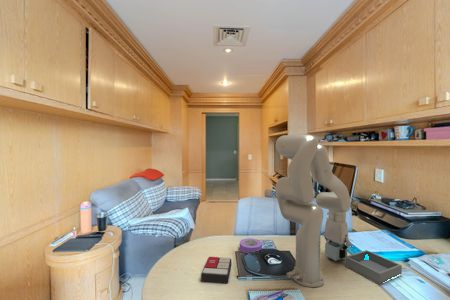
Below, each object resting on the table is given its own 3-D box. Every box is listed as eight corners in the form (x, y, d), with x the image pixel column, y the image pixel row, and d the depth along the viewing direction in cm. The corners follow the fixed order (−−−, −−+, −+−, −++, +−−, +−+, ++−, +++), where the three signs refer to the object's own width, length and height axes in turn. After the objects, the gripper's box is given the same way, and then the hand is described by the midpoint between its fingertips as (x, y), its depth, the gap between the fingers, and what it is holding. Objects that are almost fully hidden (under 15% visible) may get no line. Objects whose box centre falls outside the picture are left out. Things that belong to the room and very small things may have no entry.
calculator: (231, 256, 105) (228, 273, 90) (231, 266, 105) (227, 284, 90) (208, 255, 106) (201, 271, 91) (208, 264, 106) (201, 282, 91)
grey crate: (379, 285, 89) (379, 273, 89) (345, 266, 103) (345, 256, 102) (401, 275, 95) (401, 265, 95) (366, 259, 109) (366, 250, 109)
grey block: (335, 260, 105) (335, 247, 104) (324, 255, 110) (325, 242, 110) (347, 257, 108) (347, 245, 108) (336, 252, 113) (336, 240, 113)
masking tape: (248, 242, 127) (248, 236, 127) (266, 249, 119) (266, 242, 119) (235, 249, 119) (235, 242, 119) (252, 257, 111) (252, 250, 111)
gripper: (317, 213, 115) (316, 248, 115) (348, 224, 99) (347, 264, 100) (327, 211, 118) (326, 245, 118) (359, 222, 103) (358, 261, 103)
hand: (335, 254), depth 109 cm, fingers closed on grey block, 6 cm apart
